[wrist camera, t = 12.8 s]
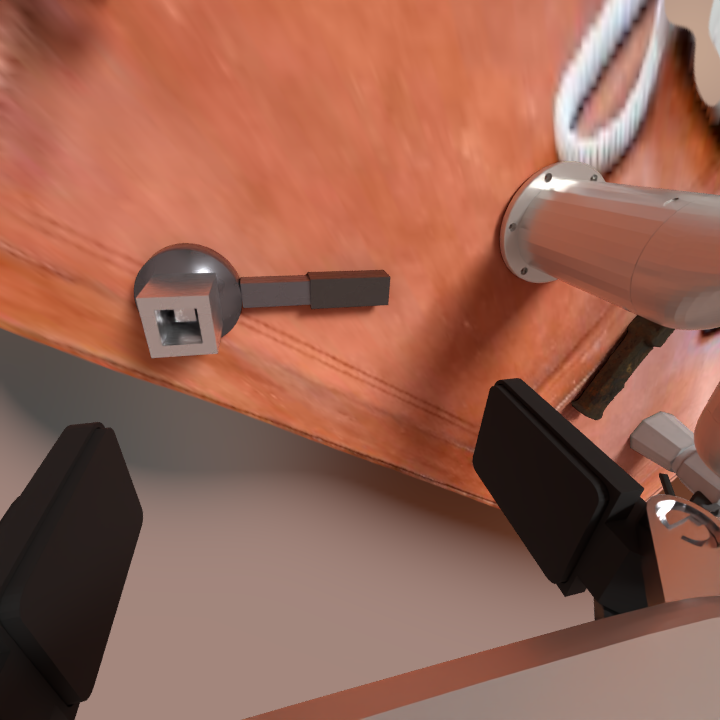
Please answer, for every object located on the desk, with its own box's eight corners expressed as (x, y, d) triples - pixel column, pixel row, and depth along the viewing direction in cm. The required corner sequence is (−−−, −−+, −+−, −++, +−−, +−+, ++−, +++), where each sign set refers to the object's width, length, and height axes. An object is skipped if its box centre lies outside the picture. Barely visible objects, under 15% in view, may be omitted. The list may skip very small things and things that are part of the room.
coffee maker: (685, 397, 63) (821, 477, 48) (681, 431, 68) (803, 513, 53) (606, 436, 64) (715, 528, 48) (607, 468, 68) (708, 560, 53)
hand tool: (583, 408, 59) (606, 426, 55) (565, 402, 57) (588, 421, 53) (668, 299, 52) (701, 312, 48) (651, 290, 50) (684, 302, 47)
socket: (215, 272, 34) (208, 295, 29) (223, 324, 36) (217, 353, 31) (154, 274, 33) (135, 298, 27) (166, 327, 35) (151, 358, 30)
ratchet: (385, 240, 38) (403, 254, 34) (379, 322, 43) (394, 343, 38) (130, 243, 33) (109, 260, 29) (153, 336, 38) (139, 363, 33)
